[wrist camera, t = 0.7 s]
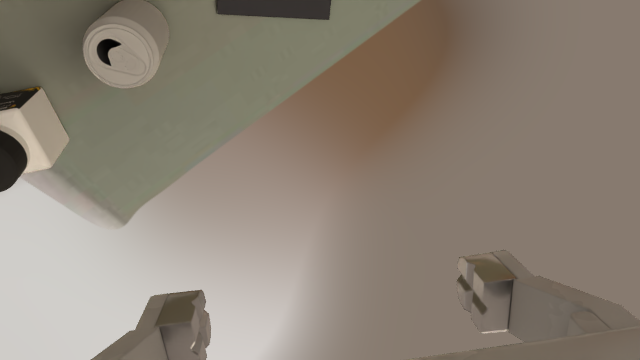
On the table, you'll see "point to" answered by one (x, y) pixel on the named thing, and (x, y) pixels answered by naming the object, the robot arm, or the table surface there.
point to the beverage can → (126, 44)
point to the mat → (276, 8)
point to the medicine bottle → (28, 134)
